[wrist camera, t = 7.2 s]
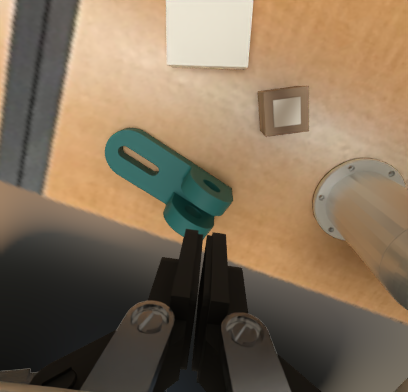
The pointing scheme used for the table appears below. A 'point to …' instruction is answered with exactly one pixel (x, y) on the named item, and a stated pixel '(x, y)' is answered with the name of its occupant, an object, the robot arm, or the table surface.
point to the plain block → (208, 33)
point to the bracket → (170, 181)
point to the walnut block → (284, 110)
